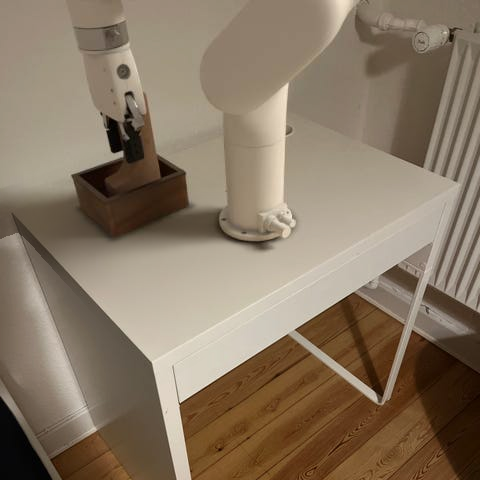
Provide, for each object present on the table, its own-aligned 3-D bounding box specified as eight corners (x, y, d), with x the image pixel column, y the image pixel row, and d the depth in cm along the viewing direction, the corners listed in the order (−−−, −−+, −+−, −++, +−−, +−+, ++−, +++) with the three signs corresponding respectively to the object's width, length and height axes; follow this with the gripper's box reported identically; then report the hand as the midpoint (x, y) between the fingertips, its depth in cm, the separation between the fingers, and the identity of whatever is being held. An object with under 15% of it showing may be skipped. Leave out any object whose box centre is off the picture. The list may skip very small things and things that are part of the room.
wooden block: (119, 211, 88) (93, 106, 76) (109, 201, 91) (82, 99, 79) (164, 195, 92) (146, 92, 80) (153, 186, 95) (134, 85, 83)
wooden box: (189, 206, 93) (186, 171, 88) (113, 238, 86) (104, 202, 81) (153, 181, 100) (148, 148, 96) (80, 208, 93) (70, 174, 89)
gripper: (154, 41, 70) (173, 164, 83) (98, 22, 80) (123, 134, 93) (106, 53, 67) (133, 180, 79) (54, 32, 77) (85, 147, 89)
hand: (127, 154), depth 86 cm, fingers closed on wooden block, 4 cm apart
